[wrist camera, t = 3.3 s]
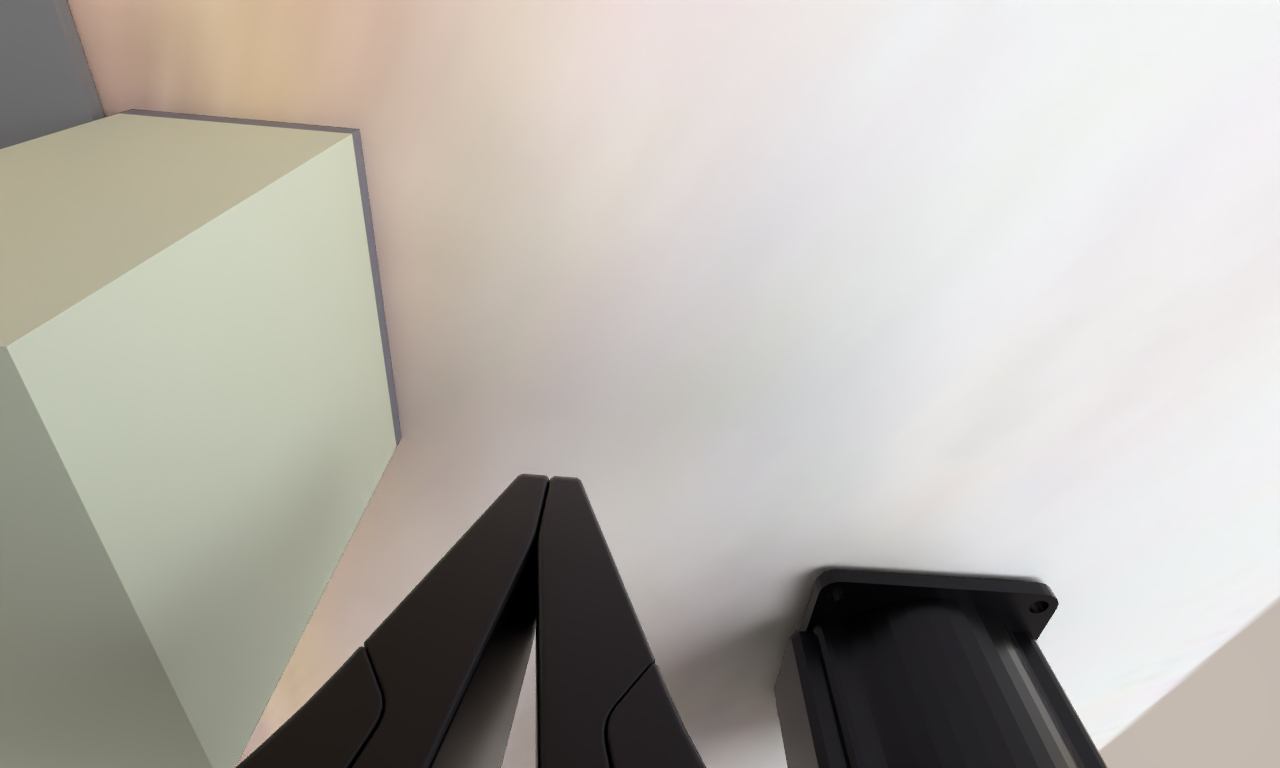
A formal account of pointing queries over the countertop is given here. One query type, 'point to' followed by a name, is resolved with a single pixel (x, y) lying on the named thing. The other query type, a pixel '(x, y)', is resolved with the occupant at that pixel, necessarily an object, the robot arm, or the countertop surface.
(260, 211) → the sage block
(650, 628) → the countertop surface
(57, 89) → the mat
